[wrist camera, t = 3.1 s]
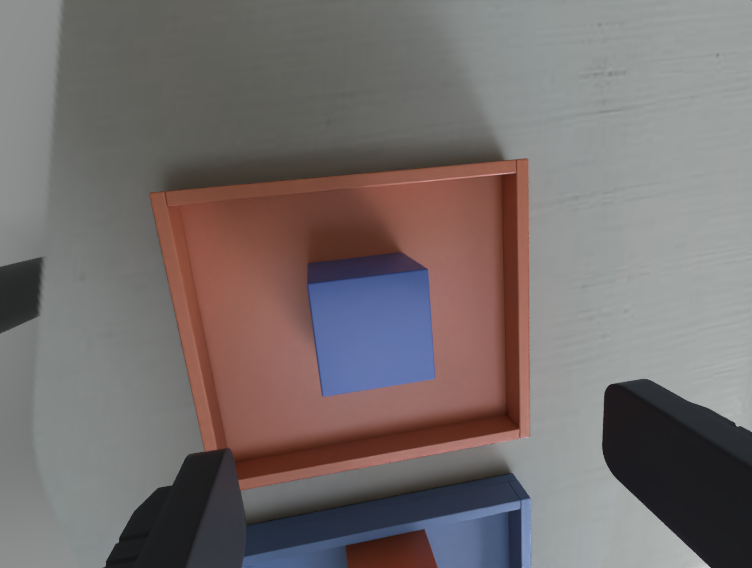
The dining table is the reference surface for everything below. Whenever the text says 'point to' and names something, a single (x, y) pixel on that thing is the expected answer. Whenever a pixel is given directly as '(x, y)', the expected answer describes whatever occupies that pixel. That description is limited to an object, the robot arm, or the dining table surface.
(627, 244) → the dining table surface
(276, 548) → the blue tray
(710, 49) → the dining table surface
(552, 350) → the dining table surface
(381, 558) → the clay block
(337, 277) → the blue block
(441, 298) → the clay tray
